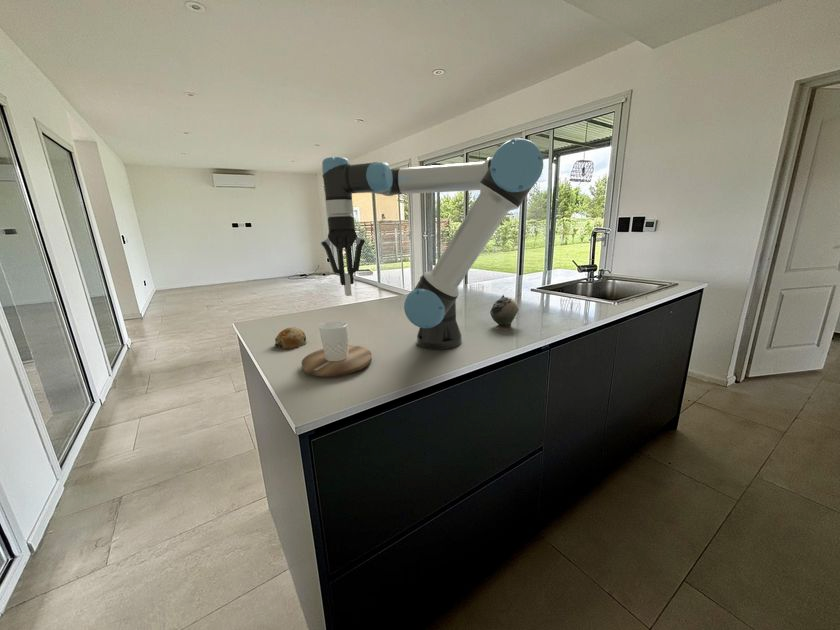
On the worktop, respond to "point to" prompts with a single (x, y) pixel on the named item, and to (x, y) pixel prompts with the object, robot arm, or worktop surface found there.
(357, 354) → the turntable
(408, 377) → the worktop surface
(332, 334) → the white cup
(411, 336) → the worktop surface
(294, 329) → the bread roll
